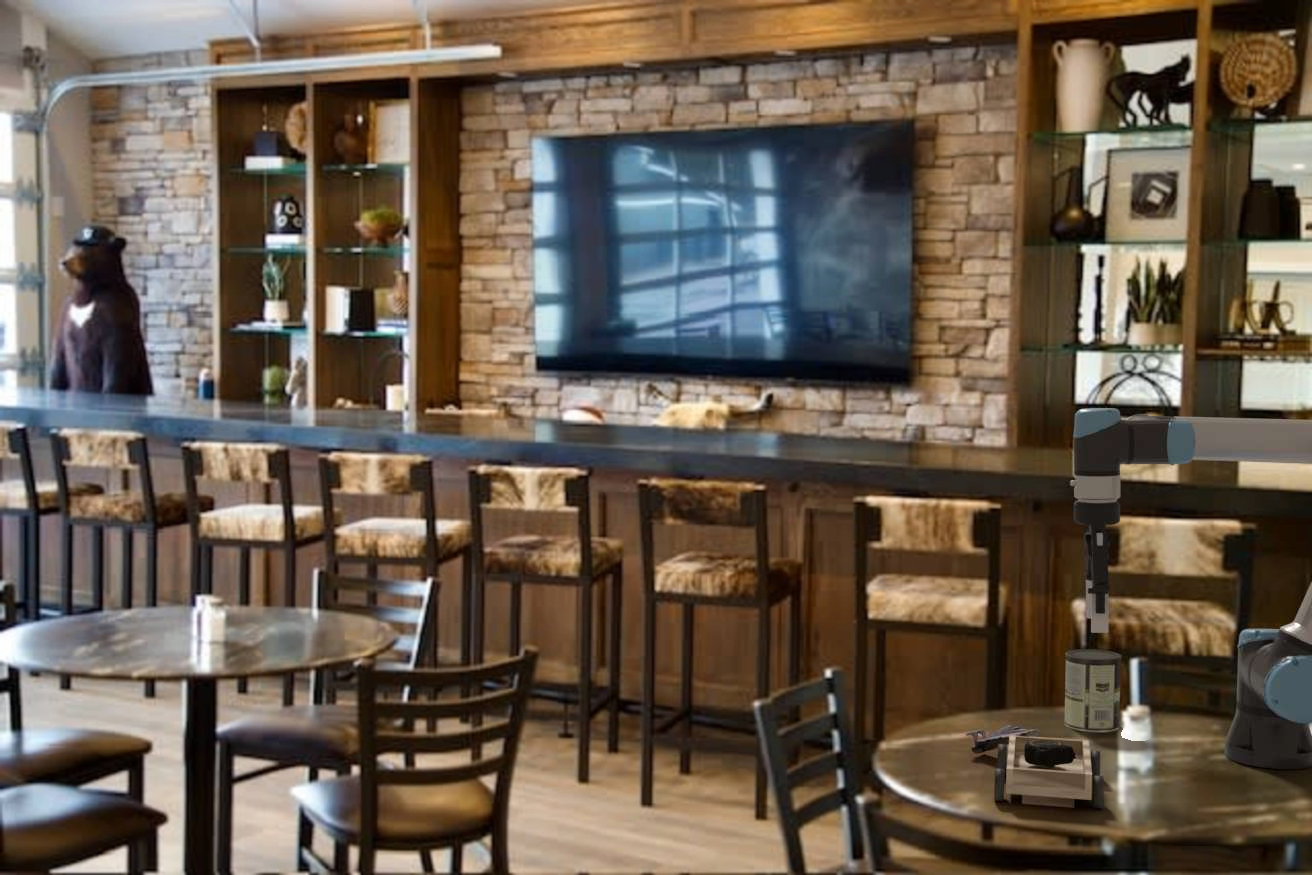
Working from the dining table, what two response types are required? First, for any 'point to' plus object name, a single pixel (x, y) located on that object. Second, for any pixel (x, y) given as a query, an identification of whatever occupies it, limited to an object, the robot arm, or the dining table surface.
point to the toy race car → (997, 738)
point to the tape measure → (1048, 753)
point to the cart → (1049, 775)
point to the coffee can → (1092, 690)
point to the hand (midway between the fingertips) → (1097, 625)
